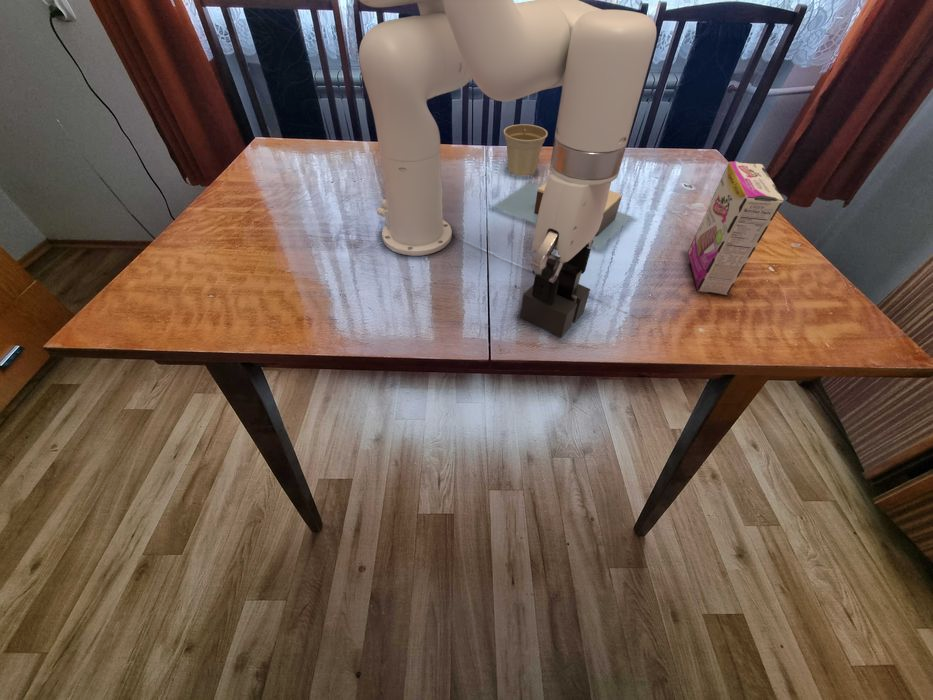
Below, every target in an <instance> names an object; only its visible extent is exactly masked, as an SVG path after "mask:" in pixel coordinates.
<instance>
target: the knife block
mask: <svg viewBox="0 0 933 700" xmlns="http://www.w3.org/2000/svg"><path fill="white" fill-rule="evenodd" d="M533 285H534V283H533V284H532V285H531V286H530V287H529V288H528V289H527V290H526V291H525V292H524V293H523V294H522V301H521V307H520V313H519V318H521V319H523V320H525V321H526V322H529V323H531V324H533V325H534V326H537V327H538V328H541V329H542V330H544V331H546V332H548V333H551V334H552V335H554V336H556V337H558V338H560V339H562V338H563V336H564V335H565V334H567V332H568V331H569V330H570V328H572V326H573V325H572V324H573V323H574V324H575V323H576V322H577V321H578V320H579V319H580V317H581V316H582V315H583V314H584V312H585V310H586V306H587V302H588V299H589V295H590V292H591V288H589V287H587V286H585V285H582V284H580V283H579V284H578V288H577V291H576V293H575V296H577V300H576V303H575V302H573V301H571V300H569V299H566V298H564V297H562V296H560V295H558V294H556V298H555V302H554V303H553V304H552V305H549V304H547V303H544V302H542V301H540V300H538V299H536V298H534V297H533V296H532V291H533Z"/></svg>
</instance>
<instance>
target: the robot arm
mask: <svg viewBox="0 0 933 700" xmlns="http://www.w3.org/2000/svg"><path fill="white" fill-rule="evenodd" d="M358 1H359V2H360V3H361V4H363V5H365V6H366V7H371V8H391V7H397V6H398V7H399V6H406V5H413V4H417V8H418V11H419V14H420V15H410V16H404V17H399V18H394V19H389V20H386V21H385V20H384V21H382V22H379V23H378V24H376V25H374V26H372V27H371V28H370V29H369V30H367V32H366V33H364V36H363V38H362V40H361V42H360V44H359V49H358V63H359V69H360V73H361V77H362V80H363V83H364V86H365V89H366V92H367V96H368V100H369V103H370V107H371V112H372V115H373V120H374V125H375V132H376V138H377V144H378V145H377V146H378V151H379V158H380V165H381V166H380V167H381V173H382V180H383V187H384V194H385V198H384V199H383V200H381V203H380V207H378V208H377V209H376V214H377V216H380V217H383V218H384V219H385V225H384V227H383V229H382V232H381V237H382V242H383V244H384V245H385V247H386V248H388V249H389V250H391V251H392V252H394V253H397V254H400V255H404V256H412V257H416V256H417V257H418V256H419V257H420V256H427V255H431V254H436V253H437V252H439V251H441V250H443V249H444V248H446V247H447V246H448V245H449V244H450V242H451V240H452V238H453V235H452V234H453V231H452V227H451V224H449V222H447V221H446V220H445V219H444V213H443V212H444V210H443V180H442V179H443V178H442V149H441V134H440V130H439V126H438V123H437V122H436V119H435V118H434V116H433V115H432V113H431V112H430V110H429V107H428V103H427V102H428V100H431V99H433V98H435V97H437V96H441V95H444V94H447V93H452V92H454V91H456V90H460V89H461V88H464V87H466V85H467V84H469V83H470V81H473V82H474V83H475V85H476V87H478V89H479V90H480V91H481V92H482V94H484V95H485V96H486V97H488V98H490V99H492V100H494V101H497V102H505V103H506V102H513V101H516V100H519V99H522V98H524V97H529V96H530V95H533V94H537V93H539V92H542V91H545V90H549V89H554V88H558V87H561V94H560V101H559V107H558V114H557V120H556V125H555V132H554V138H553V146H552V151H551V158H550V165H549V169H550V173H549V175H548V178H547V181H546V183H547V184H546V187H545V190H544V193H543V197H542V201H541V204H540V209H539V213H538V218H537V222H536V223H535V228H534V233H533V238H532V244H531V250H532V253H535V254H533V257H532V259H531V261H530V268H531V269H532V273H533V276H534V278H533V284H534V285H533V284H532V285H533V291H532V296H533V297H534V298H536V299H538V300H540V301H542V302H544V303H547V304H549V305H552V304H553V303H554V302H555V298H556V293H557V289H558V284H559V280H558V279H557V277H558V274H559V272H560V270H561V268H562V265H563V263H568V264H570V265H572V266H575V267H577V268H580V269H582V272H581V275H583V274H584V273H585V272H586V269H587V266H588V262H589V259H590V254H591V250H592V249H591V247H592V246H593V245H592V244H593V242H594V236H595V235H596V234H597V232H598V230H599V227H600V225H601V222H602V218H603V215H604V211H605V207H606V203H607V199H608V194H609V190H610V191H611V186H612V182H613V181H615V180H616V179H617V178H618V176H619V174H620V170H621V166H622V163H623V159H624V155H625V152H626V148H627V145H628V142H629V138H630V135H631V130H632V127H633V124H634V120H635V117H636V113H637V110H638V106H639V102H640V99H641V94H642V93H643V92H642V91H643V88H644V84H645V80H646V77H647V73H648V69H649V66H650V64H651V63H650V62H651V59H652V56H653V52H654V49H655V44H656V40H657V34H658V33H657V26H656V22H655V21H654V20H653V18H652V17H651V16H648V15H646V14H644V13H642V12H638V11H637V12H636V11H632V10H625V9H601V8H599V7H596V6H593V5H591V4H589V3H587V2H585V1H581V0H528V1H521V2H515V1H514V0H358ZM554 250H555V251H557V255H556V254H553V251H554ZM548 258H549V259H551V260H554V261H556V264H555V266H554V268H553V271H551V270H550V269H549V268H547V267H546V266H547V265H546V262H547V260H548Z"/></svg>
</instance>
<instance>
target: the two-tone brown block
mask: <svg viewBox="0 0 933 700" xmlns="http://www.w3.org/2000/svg"><path fill="white" fill-rule="evenodd" d="M546 184H547V182H545V183H544V184H542V185H541V187H539V188H538V190H537V197H536V204H535V211H534V213H535V214H538V213H539V209H540V204H541V201H542V197H543V193H544V190H545V187H546Z"/></svg>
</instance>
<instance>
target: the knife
mask: <svg viewBox="0 0 933 700" xmlns="http://www.w3.org/2000/svg"><path fill="white" fill-rule="evenodd" d="M555 264H556V261H554V260H551V259H549V258H548V260H547V262H546V265H547V266H546V267H547V268H549V269H550V270H551V271H553V268H554V266H555ZM581 272H582V269H580V268H577V267H575V266H572V265H570V264H568V263H563V265H562V268H561V270H560V272H559V274H558V277H557V279H558V280H559V284H558V289H557V293H556V294H558V295H560V296H562V297H564V298H566V299H569V300H571V301H573V302H575V303H576V300H577V296H575V293H576V291H577V288H578V284H580V280H581V277H582V274H581Z"/></svg>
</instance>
